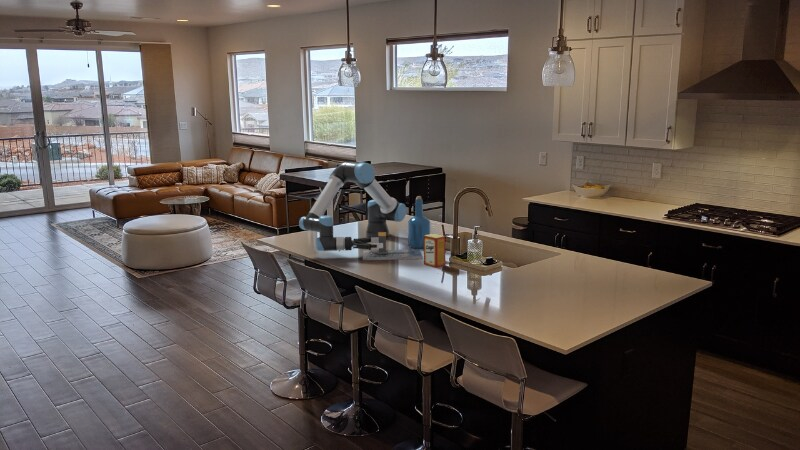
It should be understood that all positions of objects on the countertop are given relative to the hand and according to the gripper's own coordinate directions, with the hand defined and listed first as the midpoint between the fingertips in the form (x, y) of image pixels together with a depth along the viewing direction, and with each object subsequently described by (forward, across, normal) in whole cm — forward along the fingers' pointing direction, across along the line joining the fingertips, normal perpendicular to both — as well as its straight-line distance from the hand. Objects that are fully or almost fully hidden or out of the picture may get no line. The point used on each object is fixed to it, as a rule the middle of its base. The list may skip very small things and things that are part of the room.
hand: (382, 242), depth 354 cm
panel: (+5, 0, -8) cm, 9 cm away
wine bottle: (+22, -21, -8) cm, 31 cm away
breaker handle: (0, 0, -6) cm, 6 cm away
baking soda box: (+27, +21, -8) cm, 35 cm away
